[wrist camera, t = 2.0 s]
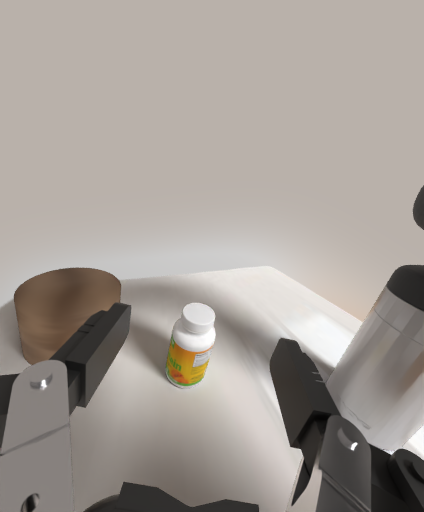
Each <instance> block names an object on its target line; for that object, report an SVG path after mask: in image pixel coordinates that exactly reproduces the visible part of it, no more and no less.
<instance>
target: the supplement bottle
mask: <svg viewBox="0 0 424 512" xmlns="http://www.w3.org/2000/svg"><path fill="white" fill-rule="evenodd" d="M214 320H215V313H214V311H213V310H212V309H211V308H210V307H209V306H207V305H205V304H202V303H190V304H187V305H186V306H185V307H184V308H183V310H182V315H181V318H180V319H179V320H178V321H177V322H176V323H175V325H174V327H173V331H172V337H171V342H170V347H169V352H168V357H167V362H166V375H167V377H168V379H169V380H170V382H171V383H173V384H174V385H175V386H177V387H180V388H192V387H194V386H196V385H198V384H199V383H200V382H201V381H202V379H203V377H204V375H205V372H206V369H207V365H208V362H209V358H210V355H211V352H212V348H213V345H214V342H215V337H216V333H215V329H214V327H213V325H214Z"/></svg>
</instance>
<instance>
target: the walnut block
mask: <svg viewBox="0 0 424 512" xmlns="http://www.w3.org/2000/svg"><path fill="white" fill-rule="evenodd" d="M120 295H121V284H120V281H119V280H118V279H117V278H116V277H115V276H114V275H112V274H110V273H108V272H105V271H102V270H98V269H92V268H66V269H59V270H54V271H49V272H46V273H43V274H40V275H37V276H35V277H33V278H31V279H29V280H27V281H25V282H24V283H23V284H21V285H20V286H19V287H18V289H17V290H16V291H15V294H14V302H15V308H16V314H17V320H18V327H19V333H20V339H21V345H22V351H23V355H24V357H25V359H26V360H27V362H28V363H30V364H31V365H34V364H36V363H39V362H42V361H46V360H49V359H50V358H51V357H52V356H53V355H54V354H55V353H56V352H57V351H58V350H59V349H60V348H61V346H62V345H63V344H64V343H65V342H66V341H67V340H68V339H69V338H70V337H71V336H72V335H73V334H74V333H75V332H77V330H78V329H79V328H80V327H81V326H82V325H83V324H84V323H85V322H86V320H87V319H88V318H89V317H90V316H91V315H93V314H95V313H97V312H99V311H101V310H104V311H108V310H109V309H110V308H111V306H112V305H113V304H114V303H115V302H118V303H120Z"/></svg>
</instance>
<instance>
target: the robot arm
mask: <svg viewBox="0 0 424 512" xmlns="http://www.w3.org/2000/svg"><path fill="white" fill-rule="evenodd" d="M413 216H414V220H415V222H416V223H417V225H418V226H420V227H421V228H422V229H423V230H424V186H423V187H422V188H421V190H420V192H419V194H418V195H417V198H416V200H415V203H414V207H413ZM130 316H131V305H127V304H123V303H118V302H115V303H114V304H113V305H112V306H111V308H110V309H109V310H108V311H104V310H101V311H99V312H97V313H95V314H93V315H91V316H90V317H89V318H88V319H87V320H86V322H85V323H84V324H83V325H82V326H81V327H80V328H79V329H78V330H77V332H75V333H74V334H73V335H72V336H71V337H70V338H69V339H68V340H67V341H66V342H65V343H64V344H63V345H62V346H61V348H60V349H59V350H58V351H57V352H56V353H55V354H54V355H53V356H52V357H51V358H50V359H49V360H46V361H42V362H39V363H36V364H34V365H32V366H30V367H28V368H27V369H25V370H24V371H23V372H21V373H20V374H12V375H2V376H0V448H1V452H0V512H74V500H73V480H72V459H71V439H70V423H69V417H70V415H71V413H72V412H73V410H74V409H75V407H76V406H80V407H85V408H86V406H87V404H88V402H89V401H90V399H91V397H92V396H93V394H94V392H95V391H96V389H97V387H98V386H99V384H100V382H101V381H102V379H103V377H104V376H105V374H106V372H107V370H108V369H109V367H110V365H111V364H112V362H113V360H114V359H115V357H116V355H117V354H118V352H119V350H120V349H121V347H122V345H123V344H124V342H125V340H126V338H127V335H128V332H129V326H130ZM270 373H271V376H272V380H273V384H274V387H275V391H276V395H277V399H278V402H279V406H280V410H281V414H282V417H283V421H284V425H285V428H286V432H287V436H288V440H289V443H290V447H293V448H298V449H301V450H302V453H303V457H302V459H301V461H300V464H299V468H298V471H297V475H296V478H295V481H294V485H293V488H292V492H291V495H290V498H289V502H288V505H287V509H286V511H285V512H424V461H423V460H422V459H421V458H420V457H418V456H417V455H416V454H414V453H412V452H410V451H408V450H406V449H400V448H401V447H402V446H403V445H404V444H405V443H406V442H407V441H408V440H409V439H410V438H411V437H412V436H413V435H414V434H415V433H416V432H417V431H418V430H419V429H420V428H421V427H422V426H423V425H424V265H405V266H401V267H399V268H398V269H397V270H395V272H394V273H393V274H392V276H391V278H390V280H389V281H388V282H387V284H386V286H385V287H384V289H383V291H382V292H381V294H380V296H379V297H378V299H377V300H376V302H375V304H374V306H373V307H372V309H371V311H370V312H369V314H368V315H367V317H366V319H365V320H364V322H363V323H362V325H361V327H360V328H359V330H358V332H357V333H356V335H355V336H354V338H353V340H352V341H351V343H350V345H349V346H348V348H347V349H346V351H345V353H344V354H343V356H342V358H341V359H340V361H339V362H338V364H337V366H336V367H335V369H334V370H333V372H332V374H331V375H330V377H329V379H328V380H327V382H326V385H325V383H323V380H322V378H321V376H320V374H319V372H318V370H317V368H316V366H315V364H314V362H313V361H312V360H311V359H310V358H309V357H308V356H307V355H306V353H302V351H301V349H300V347H299V345H298V343H297V341H294V340H290V339H285V338H280V340H279V341H278V344H277V346H276V348H275V350H274V353H273V355H272V357H271V360H270ZM369 443H370V444H369ZM371 444H372V445H371ZM373 445H374V446H373ZM375 446H376V447H375ZM377 447H378V448H377ZM379 448H380V449H379ZM381 449H384V450H387V451H395V450H396V451H395V452H394V453H393V454H392V455H390V454H388V453H386V452H385V451H383V450H381ZM83 512H259V507H258V505H256V504H250V503H244V502H239V501H233V500H227V499H225V500H221V501H217V502H213V503H209V504H205V505H200V506H196V507H189V506H187V505H185V504H184V503H182V502H180V501H179V500H177V499H175V498H174V497H172V496H170V495H169V494H167V493H165V492H164V491H162V490H161V489H159V488H157V487H151V486H145V485H139V484H133V483H128V482H123V485H122V488H121V491H120V494H118V495H114V496H111V497H108V498H105V499H103V500H101V501H99V502H97V503H95V504H93V505H92V506H90V507H89V508H87V509H86V510H85V511H83Z"/></svg>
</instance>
